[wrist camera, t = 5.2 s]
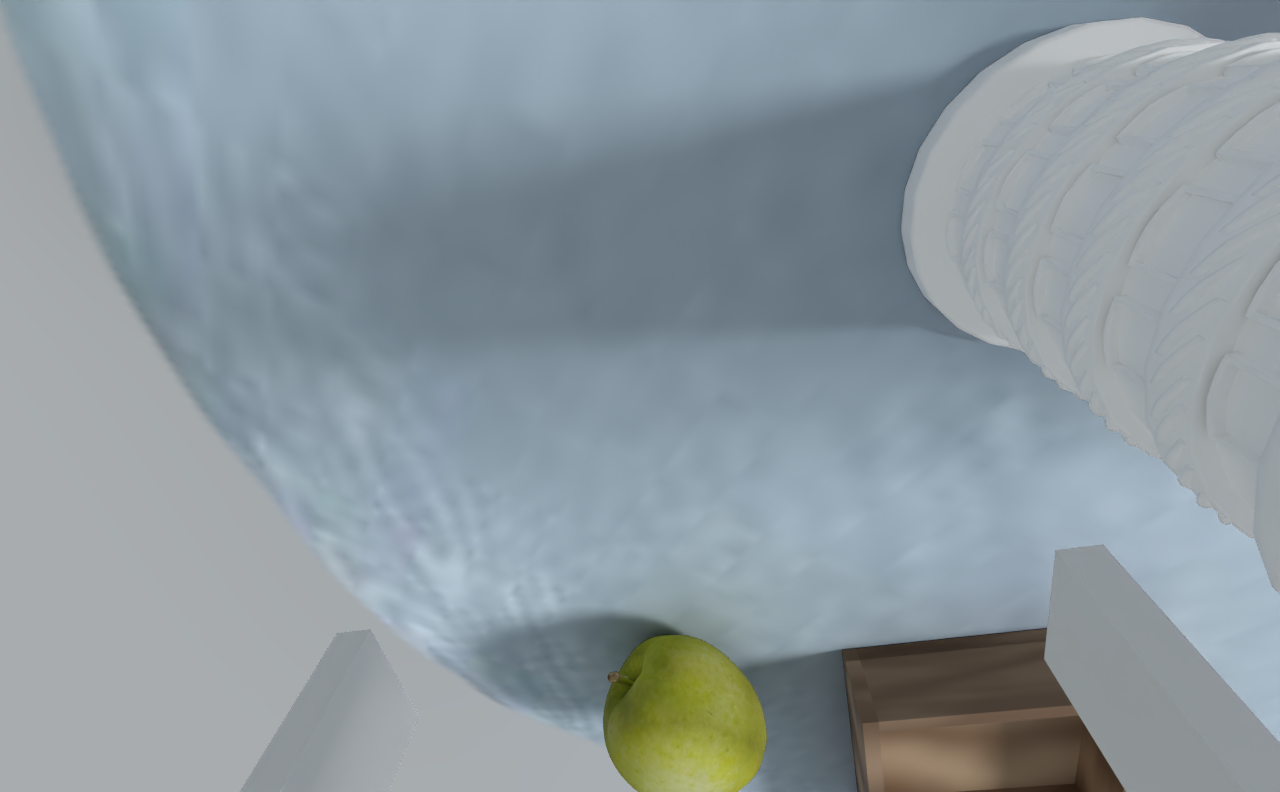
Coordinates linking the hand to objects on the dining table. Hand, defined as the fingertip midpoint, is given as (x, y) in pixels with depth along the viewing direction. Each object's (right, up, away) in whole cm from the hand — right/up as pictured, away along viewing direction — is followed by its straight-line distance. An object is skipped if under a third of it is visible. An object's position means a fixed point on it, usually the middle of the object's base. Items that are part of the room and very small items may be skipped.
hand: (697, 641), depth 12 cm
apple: (+1, -10, +24) cm, 26 cm away
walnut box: (+18, -14, +25) cm, 34 cm away
